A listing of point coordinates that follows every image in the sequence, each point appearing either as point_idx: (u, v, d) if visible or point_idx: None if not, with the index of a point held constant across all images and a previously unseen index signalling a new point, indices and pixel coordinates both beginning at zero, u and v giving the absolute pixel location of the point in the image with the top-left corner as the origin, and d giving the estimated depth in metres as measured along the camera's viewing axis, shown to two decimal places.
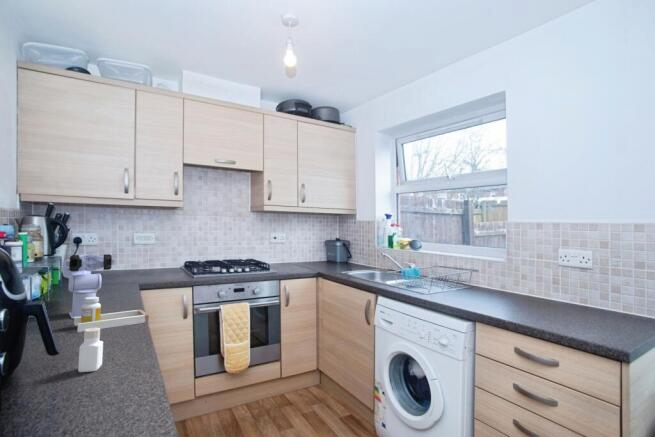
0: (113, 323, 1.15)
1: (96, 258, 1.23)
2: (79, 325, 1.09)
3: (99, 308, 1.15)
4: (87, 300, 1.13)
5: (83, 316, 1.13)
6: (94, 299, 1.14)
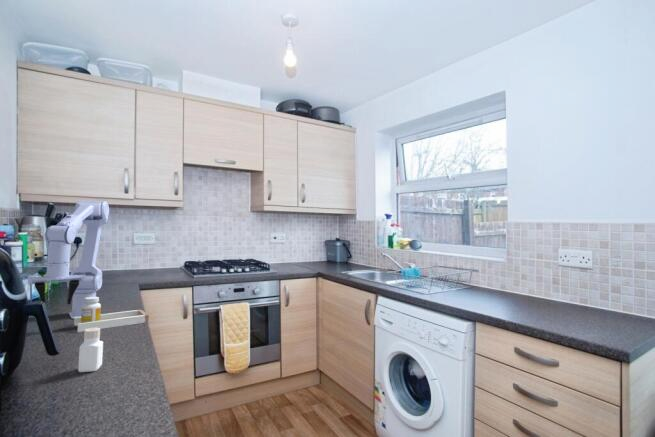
0: (113, 323, 1.15)
1: None
2: (79, 325, 1.09)
3: (99, 308, 1.15)
4: (87, 300, 1.13)
5: (83, 316, 1.13)
6: (94, 299, 1.14)
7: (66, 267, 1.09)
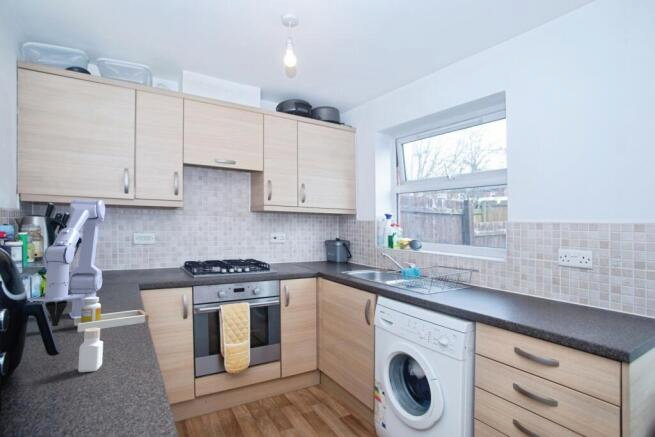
0: (113, 323, 1.15)
1: None
2: (79, 325, 1.09)
3: (99, 308, 1.15)
4: (87, 300, 1.13)
5: (83, 316, 1.13)
6: (94, 299, 1.14)
7: (65, 287, 1.09)
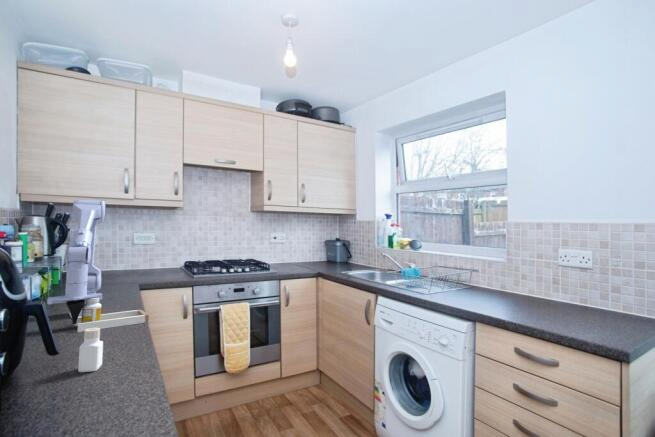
0: (113, 323, 1.15)
1: None
2: (79, 325, 1.09)
3: (100, 308, 1.16)
4: (88, 300, 1.14)
5: (83, 316, 1.13)
6: (95, 299, 1.14)
7: (84, 287, 1.12)
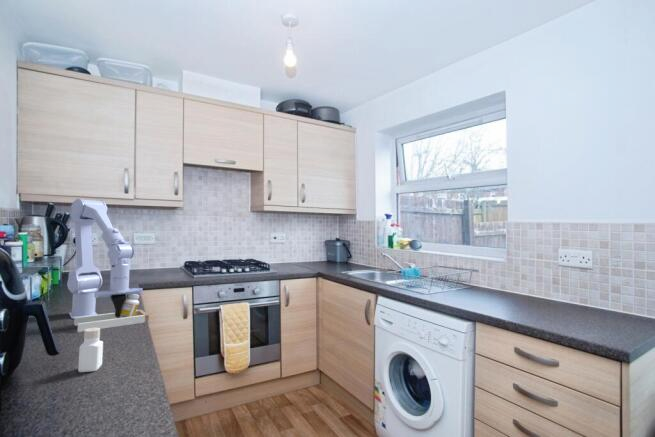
0: (113, 323, 1.15)
1: None
2: (79, 325, 1.09)
3: (137, 305, 1.23)
4: (130, 295, 1.22)
5: (123, 309, 1.20)
6: (136, 295, 1.23)
7: (127, 281, 1.20)
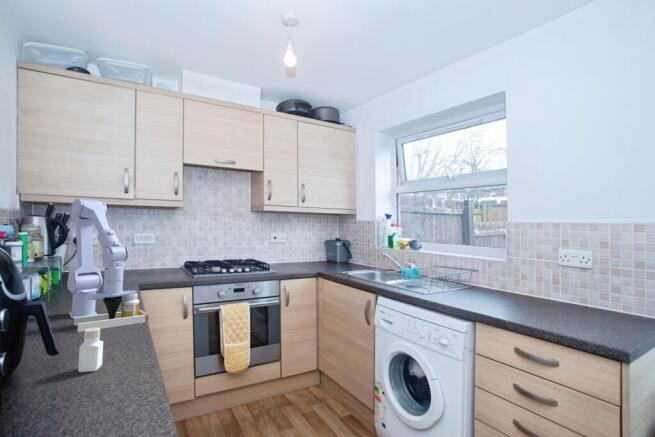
0: (113, 323, 1.15)
1: None
2: (79, 325, 1.09)
3: (138, 303, 1.24)
4: (128, 296, 1.21)
5: (124, 311, 1.21)
6: (134, 295, 1.23)
7: (120, 284, 1.19)
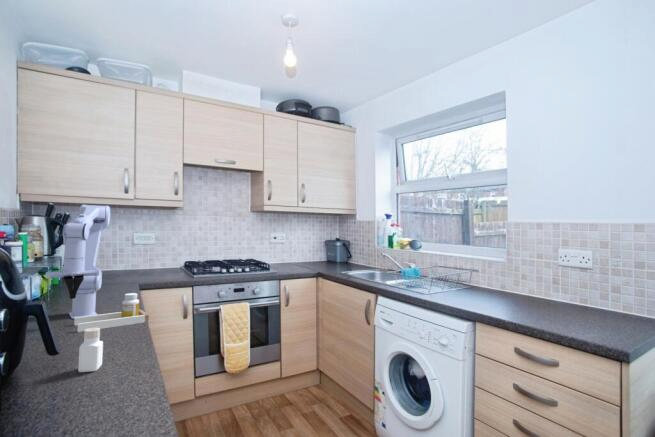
0: (113, 323, 1.15)
1: None
2: (79, 325, 1.09)
3: (138, 303, 1.24)
4: (128, 296, 1.22)
5: (124, 311, 1.21)
6: (134, 295, 1.23)
7: (82, 262, 1.15)
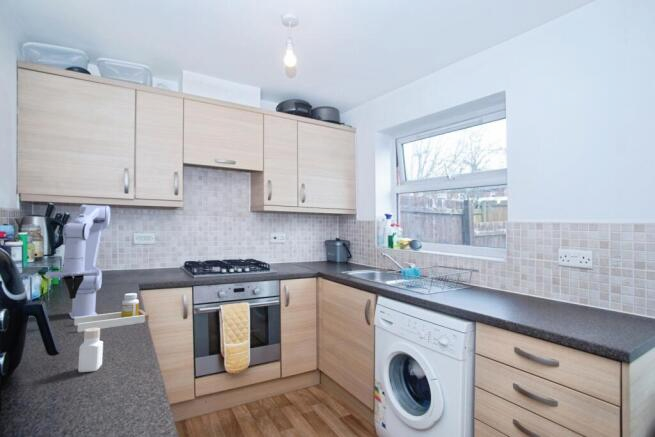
0: (113, 323, 1.15)
1: None
2: (79, 325, 1.09)
3: (138, 303, 1.24)
4: (128, 296, 1.21)
5: (124, 311, 1.21)
6: (134, 295, 1.22)
7: (82, 262, 1.15)
